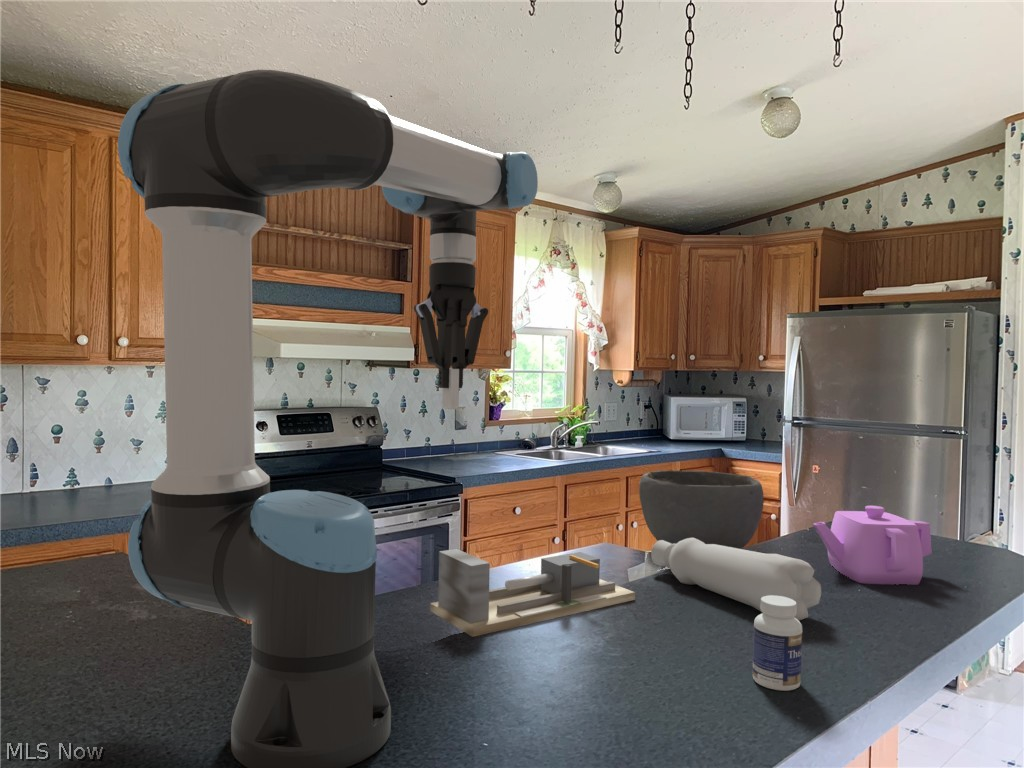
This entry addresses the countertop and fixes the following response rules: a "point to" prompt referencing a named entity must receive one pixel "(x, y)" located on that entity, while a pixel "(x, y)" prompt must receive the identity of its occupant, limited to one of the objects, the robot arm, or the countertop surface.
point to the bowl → (701, 506)
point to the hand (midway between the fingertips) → (450, 408)
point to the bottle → (740, 572)
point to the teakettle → (876, 546)
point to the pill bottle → (777, 644)
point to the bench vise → (507, 598)
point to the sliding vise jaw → (551, 573)
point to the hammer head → (566, 583)
